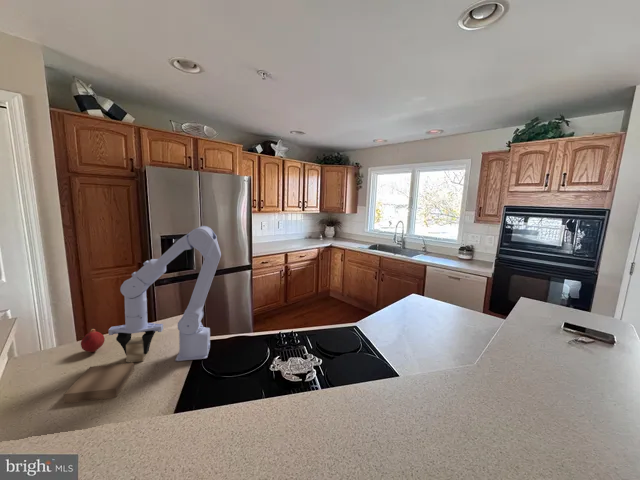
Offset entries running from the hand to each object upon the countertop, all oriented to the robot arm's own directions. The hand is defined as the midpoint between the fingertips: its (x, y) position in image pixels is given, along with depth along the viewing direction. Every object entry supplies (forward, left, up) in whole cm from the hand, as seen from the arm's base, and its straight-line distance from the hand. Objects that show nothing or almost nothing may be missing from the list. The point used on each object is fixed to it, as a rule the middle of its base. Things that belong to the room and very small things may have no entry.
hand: (137, 353), depth 83 cm
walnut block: (+4, +12, -2) cm, 13 cm away
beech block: (0, 0, -2) cm, 2 cm away
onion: (+15, -6, -2) cm, 16 cm away
